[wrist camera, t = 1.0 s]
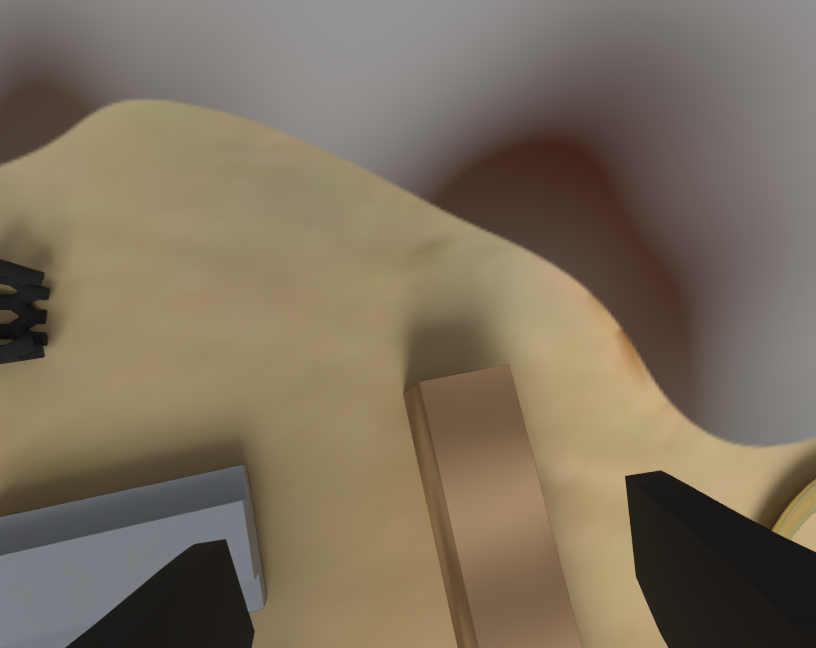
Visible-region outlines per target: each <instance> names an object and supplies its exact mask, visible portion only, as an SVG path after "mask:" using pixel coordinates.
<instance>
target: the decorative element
mask: <svg viewBox="0 0 816 648" xmlns="http://www.w3.org/2000/svg"><path fill="white" fill-rule="evenodd" d="M44 274H45V273H43V272H40V271H37V270H34V269H30V268H27V267H24V266H21V265H18V264H15V263H11V262H8V261H5V260H1V259H0V284H4V285H9V286H11V287H12V288H14V289H16V290H17V291H19V292H17V293H15V294H13V295H6V294H0V310H11V311H13V312H14V313H16V314H17V315H18V316H19V318H17V319H16V320H14V321H12V322H11V323H9V324H0V339H12V340H14V341H12V342H10V343H8V344H6V345H0V364H5V363H11V362H17V361H24V360H30V359H37V358H43V357H45V354H44V349H43V346H45V345H47V334H46V333H45V332H33V331H30V330H29V328H30V327H32V326H33V325H35V324H45V323H46V316H47V311H46V310H36V309H35V308H34V307H32V306H31V305H30V303H32V302H34V301H37V300H48V299H49V291H50V288H47V287H44V286H40V285H41V283H42V281H43V279H44Z"/></svg>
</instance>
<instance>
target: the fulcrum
mask: <svg viewBox="0 0 816 648" xmlns="http://www.w3.org/2000/svg"><path fill="white" fill-rule="evenodd" d="M222 539H226V541H227V544H228V547H229V550H230V554H231V557H232V560H233V563H234V567H235V570H236V573H237V576H238V580H239V583H240V586H241V589H242V593H243V596H244V599H245V602H246V605H247V609H248V612H253V611H257V610H260V609H264V607H265V603H266V600H267V596H266V590H265V583H264V577H263V570H262V564H261V557H260V551H259V544H258V538H257V531H256V525H255V518H254V512H253V505H252V499H251V492H250V486H249V479H248V473H247V466H246V465H240V466H235V467H230V468H226V469H221V470H217V471H212V472H207V473H203V474H198V475H193V476H189V477H184V478H179V479H175V480H170V481H166V482H161V483H156V484H152V485H147V486H142V487H138V488H133V489H129V490H124V491H119V492H115V493H110V494H105V495H101V496H96V497H91V498H87V499H82V500H78V501H73V502H68V503H64V504H59V505H54V506H50V507H45V508H40V509H36V510H31V511H27V512H22V513H17V514H13V515H8V516H3V517H0V648H65V647H66V646H68V645H69V644H70V643H71V642H73V641H74V640H75V639H77V638H78V637H79V636H80V635H82V634H83V633H84V632H85V631H87V630H88V629H89V628H91V627H92V626H93V625H94V624H95V623H97V622H98V621H99V620H100V619H102V618H103V617H104V616H105V615H106V614H108V613H109V612H110V611H111V610H112V609H114V608H115V607H116V606H117V605H118V604H120V603H121V602H122V601H123V600H124V599H126V598H127V597H128V596H129V595H130V594H132V593H133V592H134V591H135V590H136V589H138V588H139V587H140V586H141V585H142V584H144V583H145V582H146V581H147V580H148V579H149V578H151V577H152V576H153V575H154V574H156V573H157V572H158V571H159V570H160V569H162V568H163V567H164V566H165V565H167V564H168V563H169V562H170V561H171V560H173V559H174V558H175V557H177V556H178V555H179V554H181V553H182V552H183V551H185V550H186V549H187V548H189V547H190V546H192V545H193V544H197V543H203V542H210V541H216V540H222Z"/></svg>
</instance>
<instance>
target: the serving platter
mask: <svg viewBox="0 0 816 648" xmlns="http://www.w3.org/2000/svg"><path fill="white" fill-rule="evenodd" d="M813 495H814V496H813ZM815 512H816V479H814V480H813V481H812V482H811V483H809V484H808V485H807V486H806V487H805V488H804V489H803V490H802V491H801V492H800V493H799V494H798V495H797V496H796V497H795V498H794V499H793V500H792V501H791V502H790V504H789V505H788V506H787V507H786V509H785V510H784V511H783V513H782V514H781V515H780V517H779V518H778V520H777V522H776V523H775V525H774V526H773V528H772V530H771V531H773V532H775V533H777V534H779V535H781V536H783V537H785V538H787V539H789V540H791V539H792V538H793V536H794V535H795V534H796V532H797V531H798V530H799V528H800V527H801V526H802V525H803V524H804V523H805V522H806V521H807V519H808V518H809V517H810V516H811V515H812V514H814V513H815ZM793 516H794V517H793Z"/></svg>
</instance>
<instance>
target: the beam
mask: <svg viewBox="0 0 816 648" xmlns="http://www.w3.org/2000/svg"><path fill="white" fill-rule="evenodd" d="M403 396H404V400H405V405H406V409H407V414H408V419H409V423H410V428H411V433H412V437H413V442H414V447H415V451H416V456H417V460H418V465H419V470H420V474H421V479H422V484H423V488H424V493H425V498H426V502H427V507H428V511H429V516H430V521H431V525H432V530H433V535H434V539H435V544H436V549H437V553H438V558H439V562H440V567H441V572H442V576H443V581H444V586H445V590H446V595H447V600H448V604H449V609H450V613H451V618H452V623H453V627H454V632H455V637H456V641H457V646H458V648H582V646H581V642H580V638H579V634H578V630H577V626H576V622H575V619H574V615H573V611H572V607H571V603H570V599H569V595H568V591H567V587H566V584H565V580H564V576H563V572H562V568H561V564H560V560H559V556H558V552H557V549H556V545H555V541H554V537H553V533H552V529H551V525H550V521H549V517H548V514H547V510H546V506H545V502H544V498H543V494H542V490H541V486H540V482H539V479H538V475H537V471H536V467H535V463H534V459H533V455H532V451H531V447H530V444H529V440H528V436H527V432H526V428H525V424H524V420H523V416H522V412H521V409H520V405H519V401H518V397H517V393H516V389H515V385H514V381H513V377H512V374H511V370H510V366H509V364H507V365H502V366H497V367H492V368H487V369H482V370H477V371H472V372H467V373H462V374H457V375H452V376H447V377H442V378H437V379H432V380H427V381H422V382H419V383H418V384H416V385H415V386H414V387H412V388H411V389H410V390H408V391H407V392H406V393H405V394H403Z"/></svg>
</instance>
